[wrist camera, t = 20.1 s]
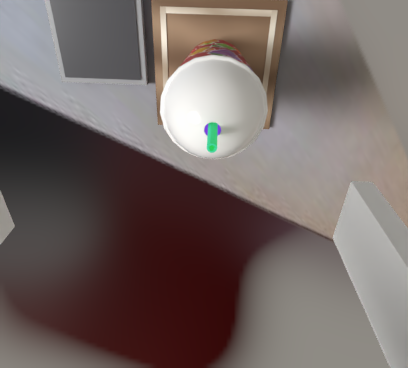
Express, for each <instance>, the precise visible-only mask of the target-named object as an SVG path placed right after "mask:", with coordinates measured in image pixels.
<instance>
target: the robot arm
mask: <svg viewBox="0 0 408 368" xmlns="http://www.w3.org/2000/svg"><path fill="white" fill-rule="evenodd" d="M14 227H15V226H14V223H13V221H12V218H11V216H10V213H9V211H8V209H7V206H6V204H5V201H4V199H3V196H2V194H1V191H0V244H1V243H2V242H3V240H4V239H5V238H6V237H7V235H8V234H9V233H10V232H11V230H12V229H13V228H14ZM333 240H334V242H335V244H336V247H337V249H338V251H339V253H340V256H341V258H342V260H343V262H344V265H345V267H346V269H347V271H348V274H349V276H350V278H351V280H352V282H353V285H354V287H355V289H356V292H357V294H358V296H359V298H360V301H361V303H362V305H363V307H364V310H365V312H366V314H367V317H368V319H369V321H370V323H371V325H372V328H373V330H374V332H375V335H376V337H377V339H378V341H379V344H380V346H381V348H382V351H383V353H384V355H385V357H386V359H387V362H388V364H389V366H390V368H408V228H407V227H406V225H405V224H404V223H403V222H402V220H401V219H400V218H399V216H398V215H397V214H396V212H395V211H394V210H393V208H392V207H391V206H390V204H389V203H388V202H387V200H386V199H385V198H384V196H383V195H382V194H381V192H380V191H379V190H378V188H377V187H376V186H375V184H374V183H373V182H358V181H351V184H350V187H349V190H348V193H347V196H346V199H345V202H344V205H343V208H342V211H341V214H340V217H339V220H338V223H337V226H336V229H335V232H334V236H333Z"/></svg>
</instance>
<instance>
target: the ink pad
mask: <svg viewBox="0 0 408 368" xmlns="http://www.w3.org/2000/svg"><path fill="white" fill-rule="evenodd" d="M45 5H46V10H47V14H48V19H49V24H50V28H51V33H52V38H53V42H54V47H55V52H56V56H57V61H58V66H59V70H60V75H61V80H62V82H73V83H100V84H126V85H147V84H148V71H147V57H146V42H145V27H144V13H143V0H45Z"/></svg>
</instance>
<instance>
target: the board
mask: <svg viewBox="0 0 408 368" xmlns="http://www.w3.org/2000/svg"><path fill="white" fill-rule="evenodd" d="M287 3H288V0H151V7H152V25H153V44H154V62H155V80H156V98H157V116H158V125H163V122H162V119H161V115H160V101H161V94H162V92H163V89H164V87H165V84H166V82H167V80H168V79H169V78H170V76H171V75H172V74H173V73H174V72H175V71H176V70H177V68H178V67H180V65H181V64H182V63H183V62H184V60H185V59H186V58H187V57H188V55H189V54H190V53H191V51H192V50H193V49H194V48H195V47H196V46H197V45H199V44H201V43H202V42H204V41H208V40H212V39H216V40H224V41H226V42H228V43H230V44H232V45H234V46H235V47H236V48H237V49H238V50H239V51H240V53H241V54H242V56H243V57H244V59H245V60H246V62H247V63H248V64H249V66H250V67H251V69H252V70H253V72H254V73H255V74H256V75H257V76H258V77H259V79H260V81H261V83H262V85H263V88H264V90H265V92H266V95H267V106H268V113H267V117H266V121H265V125H264V128H263V129H269V125H270V118H271V112H272V105H273V98H274V91H275V84H276V78H277V71H278V64H279V57H280V50H281V44H282V37H283V30H284V23H285V16H286V10H287Z"/></svg>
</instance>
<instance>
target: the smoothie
mask: <svg viewBox="0 0 408 368" xmlns="http://www.w3.org/2000/svg"><path fill="white" fill-rule="evenodd" d="M267 113H268V106H267V95H266V92H265V90H264V88H263V85H262V83H261V81H260V79H259V77H258V76H257V75H256V74H255V73H254V72H253V70H252V69H251V67H250V66H249V64H248V63H247V62H246V60H245V59H244V57H243V56H242V54H241V53H240V51H239V50H238V49H237V48H236V47H235V46H234V45H232V44H230V43H228V42H226V41H224V40H216V39H212V40H208V41H204V42H202V43H201V44H199V45H197V46H196V47H195V48H194V49H193V50H192V51H191V53H190V54H189V55H188V57H187V58H186V59H185V60H184V62H183V63H182V64H181V65H180V67H178V68H177V70H176V71H175V72H174V73H173V74H172V75H171V76H170V78H169V79H168V80H167V82H166V84H165V87H164V89H163V92H162V94H161V101H160V115H161V119H162V122H163V126H164V129H165V130H166V132H167V133H168V135H169V136H170V138H171V140H172V141H173V142H174V143H175V144H177V145H178V146H179V147H180V148H181V149H183V150H184V151H185V152H188V153H190V154H192V155H194V156H197V157H199V158H207V159H220V158H227V157H231V156H233V155H235V154H238V153H240V152H242V151H244V150H245V149H246V148H247V147H248V146H250V145H251V144H252V143H253V142H254V141H255V140H256V139H257V137H258V136H259V134H260V132H261V131H262V129H263V128H264V125H265V121H266V117H267Z"/></svg>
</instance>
